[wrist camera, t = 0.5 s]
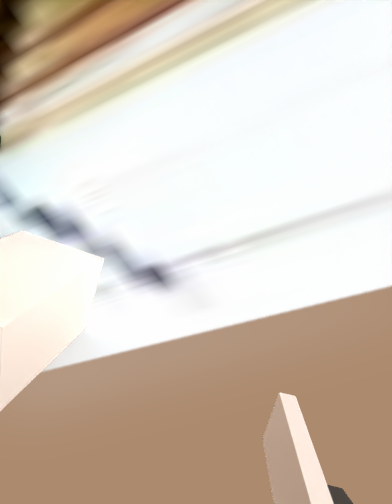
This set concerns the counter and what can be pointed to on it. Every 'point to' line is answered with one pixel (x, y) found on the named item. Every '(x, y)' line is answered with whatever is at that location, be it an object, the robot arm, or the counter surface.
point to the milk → (40, 304)
